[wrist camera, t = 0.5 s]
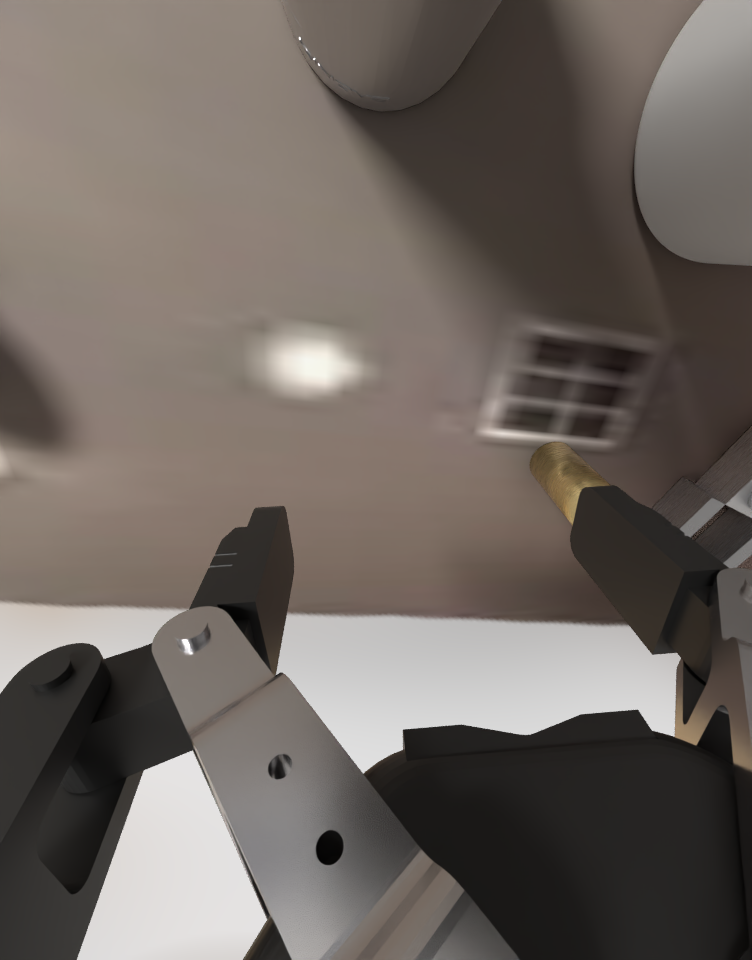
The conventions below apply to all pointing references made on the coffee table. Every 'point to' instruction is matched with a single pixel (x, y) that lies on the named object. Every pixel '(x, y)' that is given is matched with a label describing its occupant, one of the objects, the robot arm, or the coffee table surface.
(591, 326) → the coffee table surface
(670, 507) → the block with dome studs
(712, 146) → the cylinder vase
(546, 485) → the link pin
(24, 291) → the coffee table surface
